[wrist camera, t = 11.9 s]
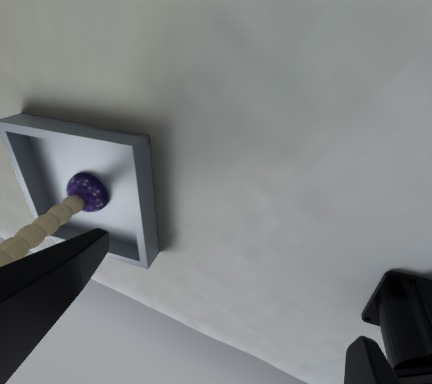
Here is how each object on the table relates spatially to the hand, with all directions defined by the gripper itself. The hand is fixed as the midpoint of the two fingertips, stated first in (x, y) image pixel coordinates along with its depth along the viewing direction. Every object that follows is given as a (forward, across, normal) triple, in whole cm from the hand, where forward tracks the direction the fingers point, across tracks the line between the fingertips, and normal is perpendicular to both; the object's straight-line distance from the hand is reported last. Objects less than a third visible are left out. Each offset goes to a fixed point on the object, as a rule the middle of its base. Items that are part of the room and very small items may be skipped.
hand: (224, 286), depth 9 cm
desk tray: (+13, +15, +10) cm, 23 cm away
